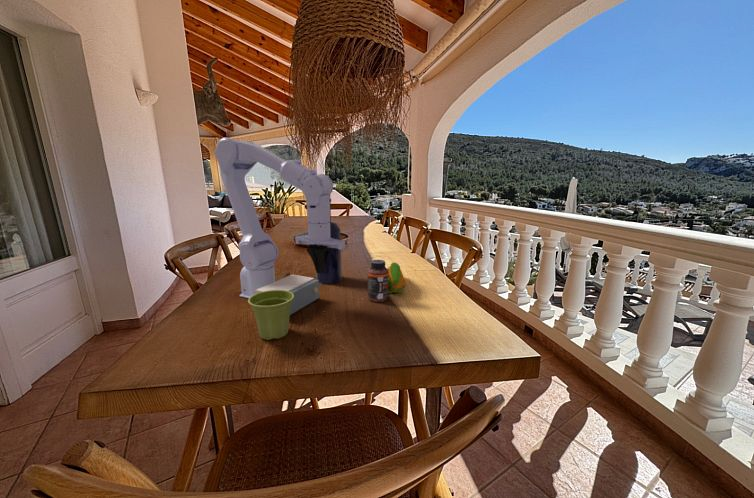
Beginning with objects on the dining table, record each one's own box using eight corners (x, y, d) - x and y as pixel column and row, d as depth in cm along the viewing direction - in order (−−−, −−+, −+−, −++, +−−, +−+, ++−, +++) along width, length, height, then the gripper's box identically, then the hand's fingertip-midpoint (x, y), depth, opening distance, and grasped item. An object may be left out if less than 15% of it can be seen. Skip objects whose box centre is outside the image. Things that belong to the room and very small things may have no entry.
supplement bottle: (386, 303, 82) (386, 264, 79) (365, 302, 83) (365, 263, 81) (389, 295, 88) (390, 259, 85) (370, 294, 89) (370, 257, 86)
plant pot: (273, 320, 72) (271, 286, 70) (304, 328, 68) (302, 293, 66) (242, 338, 64) (238, 301, 62) (275, 348, 60) (271, 309, 58)
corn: (382, 273, 84) (382, 255, 104) (380, 298, 86) (380, 276, 105) (408, 275, 84) (403, 257, 104) (405, 299, 86) (401, 277, 105)
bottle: (320, 274, 106) (317, 190, 100) (345, 276, 105) (343, 190, 98) (311, 283, 98) (307, 191, 91) (338, 285, 96) (336, 191, 89)
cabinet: (257, 311, 77) (255, 289, 75) (293, 293, 89) (292, 274, 88) (281, 317, 74) (279, 294, 72) (315, 297, 86) (314, 278, 85)
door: (279, 318, 73) (278, 297, 71) (316, 297, 86) (315, 279, 84) (286, 319, 72) (284, 299, 71) (321, 298, 85) (321, 280, 84)
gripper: (286, 222, 76) (289, 272, 79) (334, 226, 70) (335, 280, 73) (304, 219, 82) (306, 265, 85) (349, 222, 76) (349, 272, 79)
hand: (320, 272), depth 79 cm, fingers closed
